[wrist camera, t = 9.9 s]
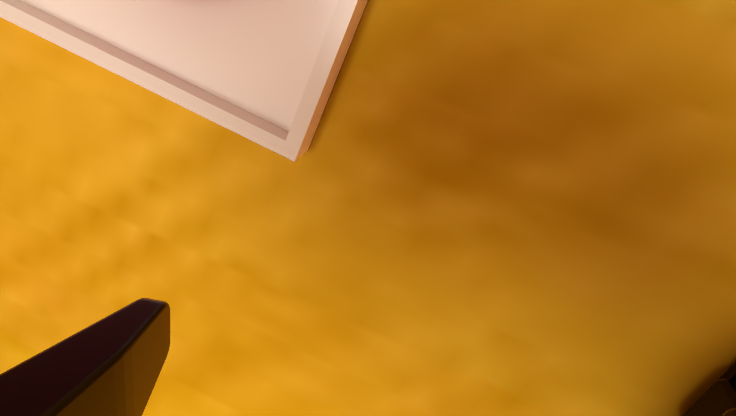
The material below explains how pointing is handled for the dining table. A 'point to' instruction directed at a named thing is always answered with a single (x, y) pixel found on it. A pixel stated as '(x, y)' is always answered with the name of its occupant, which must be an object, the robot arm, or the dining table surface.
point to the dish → (213, 55)
